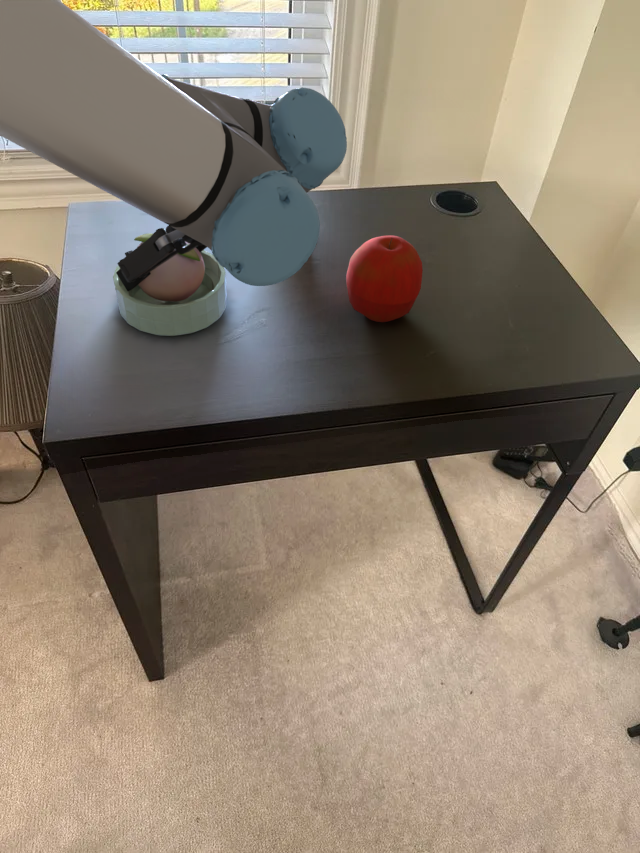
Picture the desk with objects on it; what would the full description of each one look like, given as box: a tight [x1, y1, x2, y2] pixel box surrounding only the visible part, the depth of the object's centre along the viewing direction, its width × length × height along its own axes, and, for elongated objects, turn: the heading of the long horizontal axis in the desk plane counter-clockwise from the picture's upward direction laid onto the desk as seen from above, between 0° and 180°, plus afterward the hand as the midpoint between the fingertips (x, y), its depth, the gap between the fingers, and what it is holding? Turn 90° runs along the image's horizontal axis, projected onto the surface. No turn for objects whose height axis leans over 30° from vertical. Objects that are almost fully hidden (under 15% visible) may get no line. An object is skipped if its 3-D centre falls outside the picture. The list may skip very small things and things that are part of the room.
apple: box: [345, 235, 424, 323], centre depth 85 cm, size 10×10×12 cm
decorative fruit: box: [133, 232, 205, 302], centre depth 83 cm, size 9×8×10 cm
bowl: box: [112, 249, 228, 337], centre depth 85 cm, size 14×14×5 cm
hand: (153, 266), depth 85 cm, fingers closed on decorative fruit, 9 cm apart
